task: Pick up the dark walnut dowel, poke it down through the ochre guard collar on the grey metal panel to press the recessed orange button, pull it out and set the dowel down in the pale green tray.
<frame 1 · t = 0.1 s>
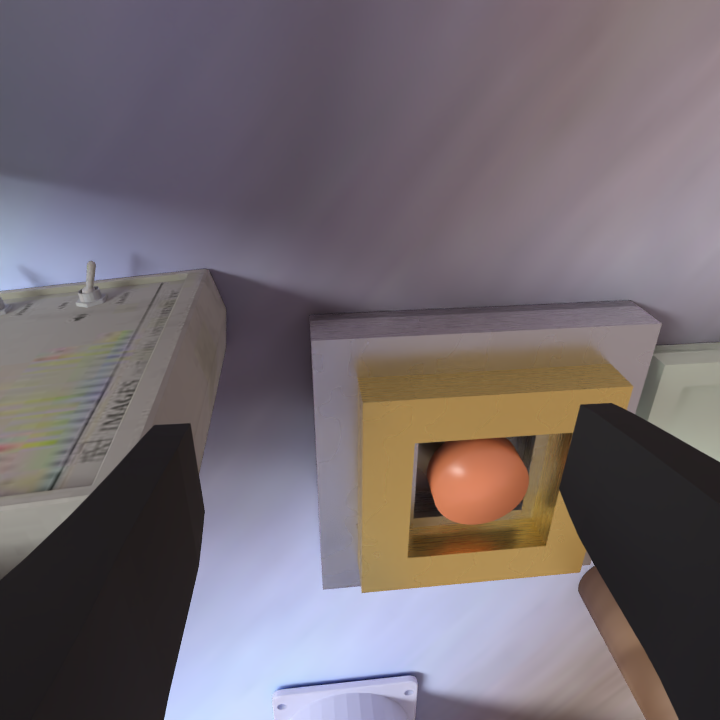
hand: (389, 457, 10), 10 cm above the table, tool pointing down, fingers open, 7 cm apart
panel: (459, 439, 23), on the table
dowel: (611, 581, 29), on the table
button: (476, 478, 21), point 2 cm above the table, slide at 0.0 cm
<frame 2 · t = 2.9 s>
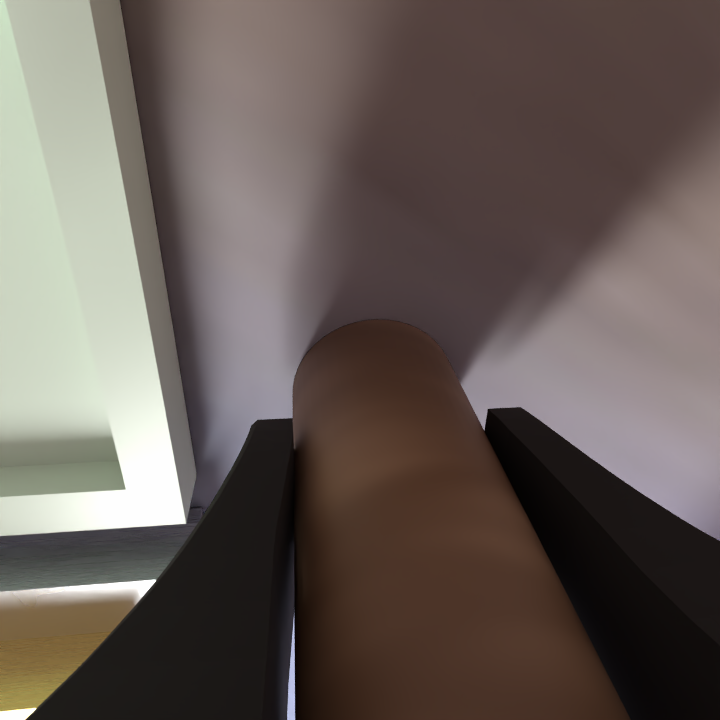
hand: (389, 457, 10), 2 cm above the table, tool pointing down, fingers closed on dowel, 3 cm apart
panel: (7, 681, 15), on the table
dowel: (373, 392, 12), on the table, touching gripper
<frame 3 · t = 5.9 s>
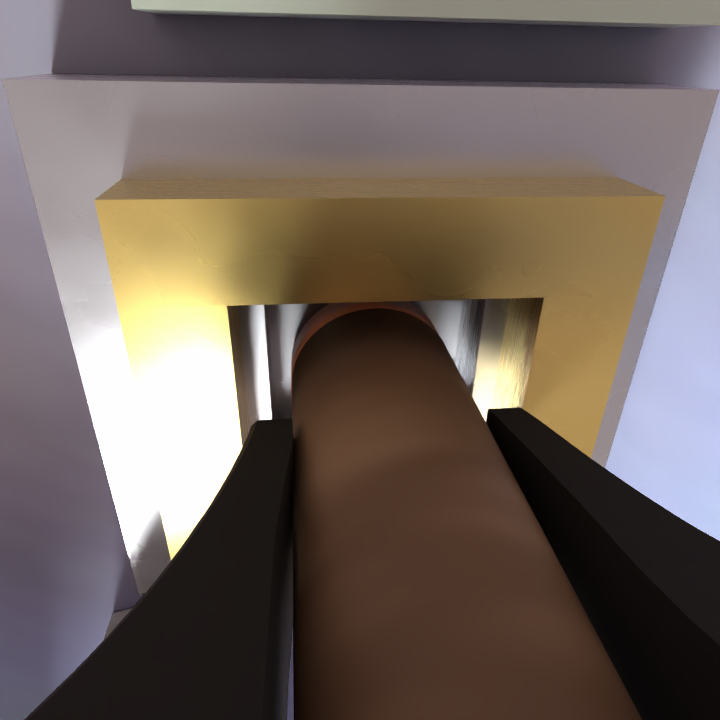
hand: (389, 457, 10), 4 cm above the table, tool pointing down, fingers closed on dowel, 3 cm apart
panel: (363, 347, 14), on the table
dowel: (372, 382, 12), point 2 cm above the table, touching button, gripper
button: (370, 376, 13), point 1 cm above the table, slide at 1.0 cm, touching dowel
when the fingers open (4 cm above the table, at t = 9.3 s): dowel drops 1 cm, resting on tray.
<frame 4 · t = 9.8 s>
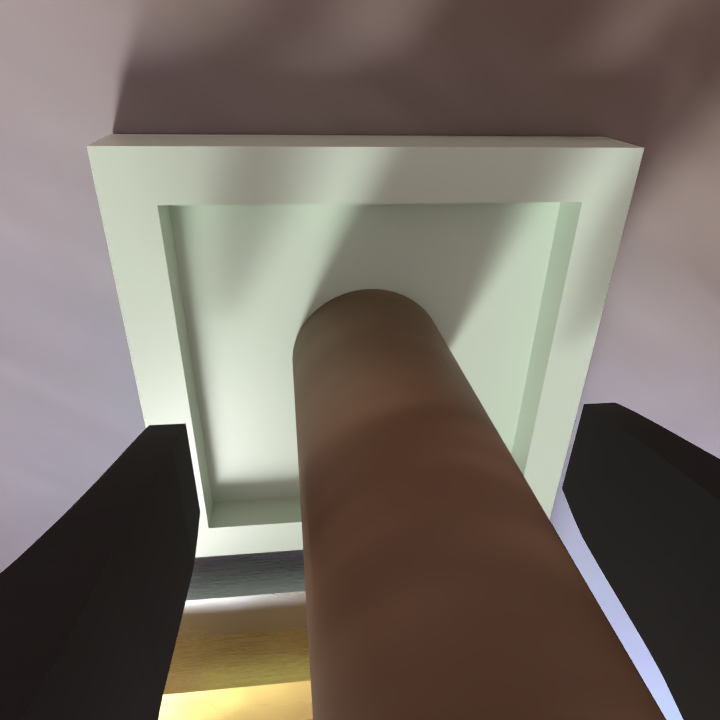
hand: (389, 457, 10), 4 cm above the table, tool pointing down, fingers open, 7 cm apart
panel: (328, 655, 19), on the table
dowel: (367, 359, 13), point 1 cm above the table, touching tray
button: (330, 696, 18), point 1 cm above the table, slide at 1.0 cm
tray: (364, 353, 14), on the table
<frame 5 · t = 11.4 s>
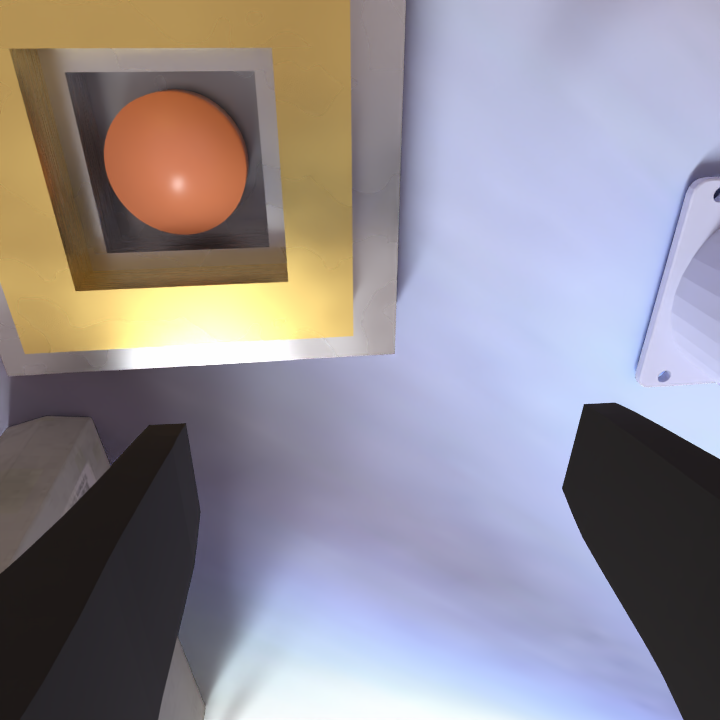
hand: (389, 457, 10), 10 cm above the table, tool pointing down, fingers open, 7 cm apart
geiger counter: (153, 622, 27), on the table
panel: (188, 154, 16), on the table
button: (180, 163, 15), point 1 cm above the table, slide at 1.0 cm
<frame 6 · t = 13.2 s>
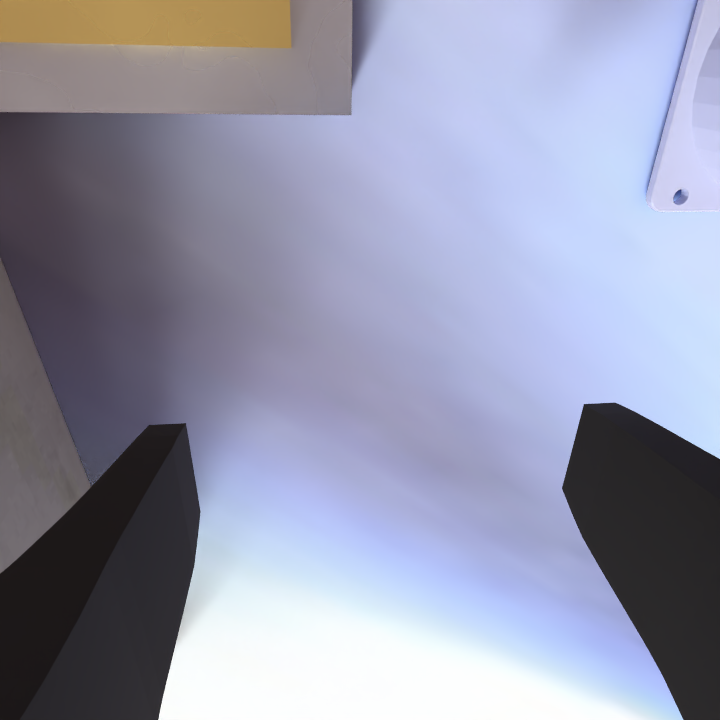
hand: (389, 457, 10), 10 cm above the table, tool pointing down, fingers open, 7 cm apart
geiger counter: (78, 509, 23), on the table
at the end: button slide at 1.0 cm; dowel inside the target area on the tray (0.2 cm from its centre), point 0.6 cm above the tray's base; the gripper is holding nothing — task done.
